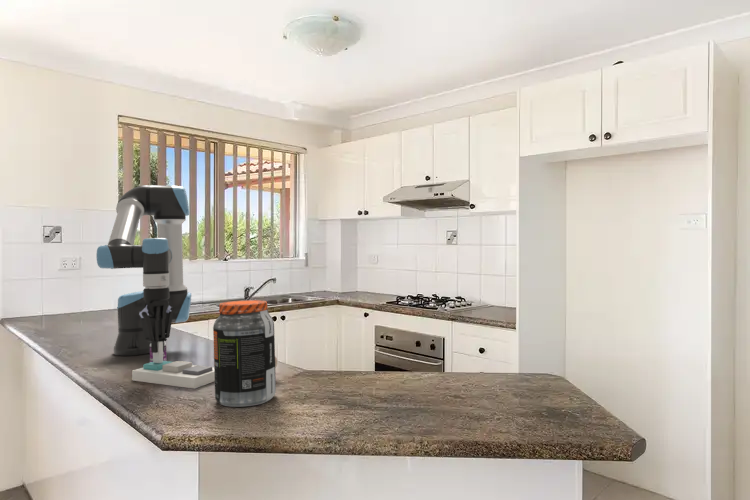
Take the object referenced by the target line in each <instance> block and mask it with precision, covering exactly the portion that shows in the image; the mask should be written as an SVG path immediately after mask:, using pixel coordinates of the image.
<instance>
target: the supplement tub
mask: <svg viewBox="0 0 750 500" xmlns="http://www.w3.org/2000/svg"><path fill="white" fill-rule="evenodd" d="M218 308H219V309H218V311H219V315H218V317H217V318H216V319H215V320H214V323H213V327H212V330H213V331H212V333H213V367H214V373H215V381H214V396H215V400H216V401H217V403H218V404H219V405H221V406H225V407H233V408H236V407H238V408H239V407H241V408H242V407H251V406H253V407H254V406H258V405H262V404H264V403H267V402H269V401H271V399H273V397H274V396H275V395H276V389H277V387H276V385H277V384H276V383H277V382H276V368H275V357H276V352H275V351H276V348H275V347H276V346H275V345H276V343H275V337H276V336H275V321H274V319H273V317H272V316H271V315H270V313H269V307H268V302H267V301H266V300H258V299H254V300H253V299H251V300H246V299H245V300H234V301H233V300H232V301H225V302H220V303H219V307H218Z"/></svg>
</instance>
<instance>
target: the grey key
mask: <svg viewBox="0 0 750 500" xmlns="http://www.w3.org/2000/svg"><path fill="white" fill-rule="evenodd" d="M171 362H172V363H168V364H165V365H163V371H164V372H173V373H179V372H182V370H183V369H187V368H190V367H192V365H193V362H191V361H182V360H176V361H171Z"/></svg>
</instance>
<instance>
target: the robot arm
mask: <svg viewBox="0 0 750 500" xmlns="http://www.w3.org/2000/svg"><path fill="white" fill-rule="evenodd" d="M115 210H116V214H117V215H116V217H115V221H114V224H113V227H112V230H111V233H110V236H109V240H108V243H107V244H105V245H100V246H98V247H97V249H96V263H97V266H98V268H100V269H111V270H115V269H135V268H137V269H142V286H143V287H144V289H143V290H142V291H135V292H131V293H126V294H125V293H124V294H121V295H120V296H119V297H118V298H117V307H116V309H117V327H118V328H117V331H118V333H117V337H116V341H115V343H114V347H113V355H115V356H122V357H123V356H124V357H125V356H128V357H131V356H139V355H146V354H150V344H151V351H152V353H153V363H162V362H163V351H164V342H167V341H168V339H169V338H170V335H171V329H172V324H174V323H175V324H177V323H184V322H187V321H188V319H189V317H190V312H191V303H192V293H191V292H190V291H188V287H187V286H186V285H184V271H183V270H184V268H183V267H184V266H183V265H184V264H183V263H184V262H183V259H184V258H183V230H182V229H183V228H182V227H183V226H182V224H184V222H186V221H187V220H186V216H189V215H190V207H189V201H188V195H187V190H186V189H185V188H184V187H183V186H181V185H179V186H178V185H145V184H143V185H138V186H135V187H133V188H132V189H130V190H127V191H126V192H125V193H124V194H123V195H122V196H121V197H120V198H119V200H118V201H117V204H116V208H115ZM143 216H153V221H154V222H155V223H157V225H158V237H154V238H153V237H149V238H148V237H147V238H144V239H143V240H142V243H141V244H135V239H136V235H137V232H138V227H139V224H140V220H141V219H142V218H143Z"/></svg>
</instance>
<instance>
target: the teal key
mask: <svg viewBox="0 0 750 500" xmlns="http://www.w3.org/2000/svg"><path fill="white" fill-rule="evenodd" d="M172 362H173V361H169V360H167V361H163V362H162V363H153V362H150V361H149V362H148V363H144V364H143V365H142V366H143V367H144V369H147V370H155V371H159V370H162V369H163V365H165V364H168V363H172ZM143 367H142V368H143Z"/></svg>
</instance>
